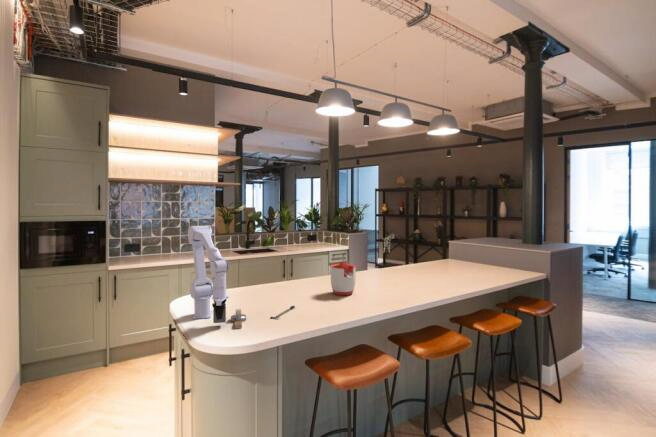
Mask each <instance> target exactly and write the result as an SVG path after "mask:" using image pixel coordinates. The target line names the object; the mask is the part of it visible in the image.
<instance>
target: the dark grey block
mask: <svg viewBox="0 0 656 437" xmlns="http://www.w3.org/2000/svg"><path fill="white" fill-rule="evenodd" d="M212 314H213V316H212V317H213V319H212V320H213V324H218V323H219V324H222V323H226V322H227V306H226V305H225V307H224V310H223V316H222V319H218V320H217V318H216V313H215V310H214V308H213V311H212Z"/></svg>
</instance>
